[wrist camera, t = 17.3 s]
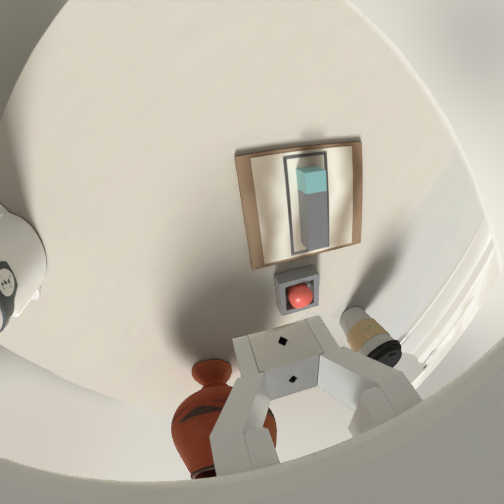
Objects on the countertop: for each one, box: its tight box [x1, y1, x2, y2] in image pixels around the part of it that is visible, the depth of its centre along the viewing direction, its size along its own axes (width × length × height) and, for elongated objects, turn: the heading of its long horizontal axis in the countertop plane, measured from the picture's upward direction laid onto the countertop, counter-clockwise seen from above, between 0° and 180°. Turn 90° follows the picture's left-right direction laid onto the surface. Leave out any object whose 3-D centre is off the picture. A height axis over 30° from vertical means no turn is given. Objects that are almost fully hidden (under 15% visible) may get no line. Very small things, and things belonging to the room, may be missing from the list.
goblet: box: [171, 359, 277, 479], centre depth 44 cm, size 19×19×25 cm
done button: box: [286, 282, 313, 308], centre depth 46 cm, size 4×4×3 cm
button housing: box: [274, 265, 319, 316], centre depth 47 cm, size 7×7×3 cm
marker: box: [296, 166, 328, 251], centre depth 39 cm, size 12×3×3 cm, turn 8°
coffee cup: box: [340, 307, 402, 368], centre depth 50 cm, size 9×9×15 cm
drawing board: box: [234, 142, 362, 269], centre depth 41 cm, size 20×18×1 cm
